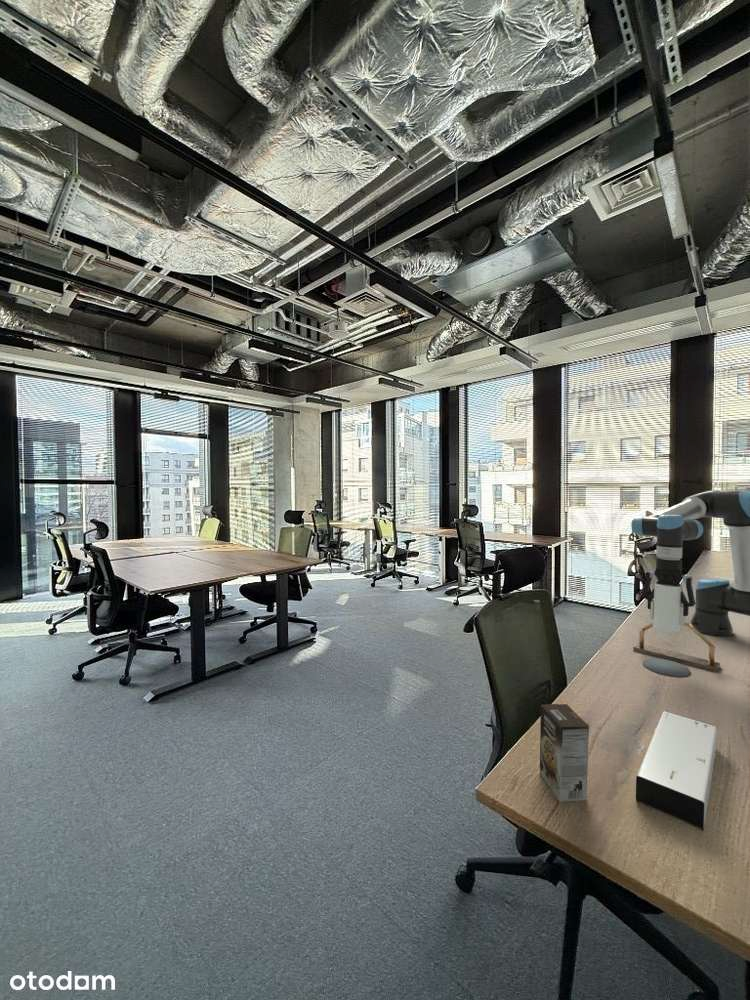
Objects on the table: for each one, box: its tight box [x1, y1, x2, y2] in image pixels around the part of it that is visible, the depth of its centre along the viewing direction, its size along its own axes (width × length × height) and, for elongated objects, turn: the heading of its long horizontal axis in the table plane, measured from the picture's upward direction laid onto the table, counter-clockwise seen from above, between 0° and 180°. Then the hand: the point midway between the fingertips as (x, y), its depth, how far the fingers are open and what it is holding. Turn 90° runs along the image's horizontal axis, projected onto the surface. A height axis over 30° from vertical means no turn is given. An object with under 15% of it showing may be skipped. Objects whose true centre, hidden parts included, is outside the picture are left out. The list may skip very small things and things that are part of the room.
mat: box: [642, 657, 691, 678], centre depth 152 cm, size 14×14×1 cm
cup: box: [652, 581, 683, 633], centre depth 151 cm, size 8×8×16 cm
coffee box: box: [539, 703, 590, 803], centre depth 92 cm, size 9×6×16 cm
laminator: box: [635, 710, 718, 831], centre depth 97 cm, size 34×12×6 cm, turn 138°
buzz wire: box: [632, 621, 721, 673], centre depth 160 cm, size 6×26×15 cm, turn 43°
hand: (667, 621), depth 152 cm, fingers closed on cup, 8 cm apart
